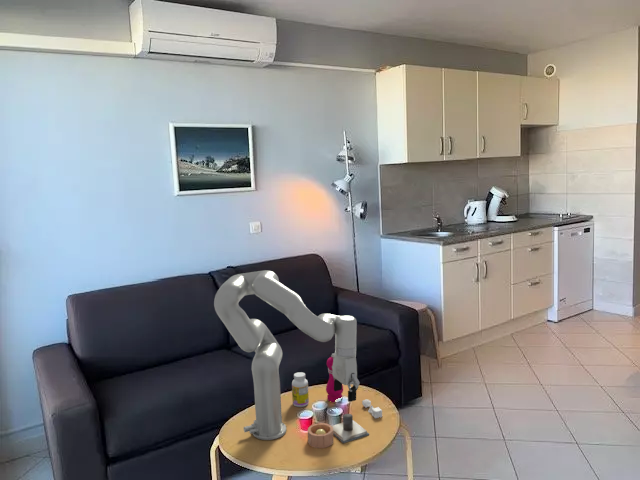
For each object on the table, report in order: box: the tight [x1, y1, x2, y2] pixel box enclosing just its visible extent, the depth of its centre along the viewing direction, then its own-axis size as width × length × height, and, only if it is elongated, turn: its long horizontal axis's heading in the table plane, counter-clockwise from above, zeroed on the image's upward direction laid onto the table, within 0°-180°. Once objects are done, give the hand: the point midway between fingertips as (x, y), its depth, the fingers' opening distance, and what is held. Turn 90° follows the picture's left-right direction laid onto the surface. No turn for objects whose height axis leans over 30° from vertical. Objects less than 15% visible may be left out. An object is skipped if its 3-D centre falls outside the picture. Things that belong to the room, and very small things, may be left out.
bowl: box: [307, 422, 334, 449], centre depth 189 cm, size 9×9×4 cm
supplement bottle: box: [291, 371, 310, 408], centre depth 217 cm, size 7×7×13 cm
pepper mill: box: [325, 352, 344, 403], centre depth 220 cm, size 7×7×20 cm
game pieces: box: [361, 398, 383, 419], centre depth 210 cm, size 12×3×3 cm, turn 22°
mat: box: [333, 431, 370, 444], centre depth 194 cm, size 11×11×1 cm
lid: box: [331, 413, 368, 441], centre depth 194 cm, size 10×10×6 cm
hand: (344, 395), depth 192 cm, fingers open, 9 cm apart
